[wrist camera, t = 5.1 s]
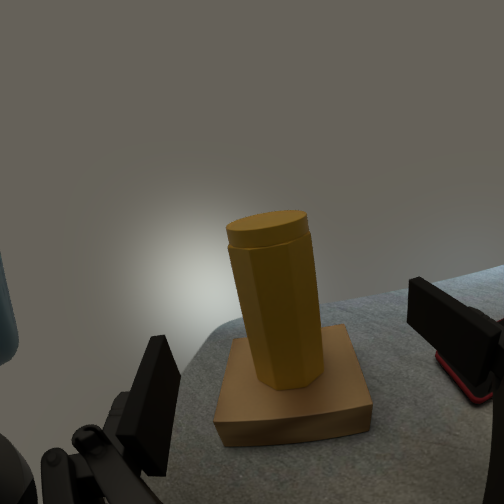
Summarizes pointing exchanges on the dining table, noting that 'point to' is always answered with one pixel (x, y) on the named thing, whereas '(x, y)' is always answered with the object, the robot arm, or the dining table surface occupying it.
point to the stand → (294, 399)
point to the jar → (278, 296)
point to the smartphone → (472, 393)
